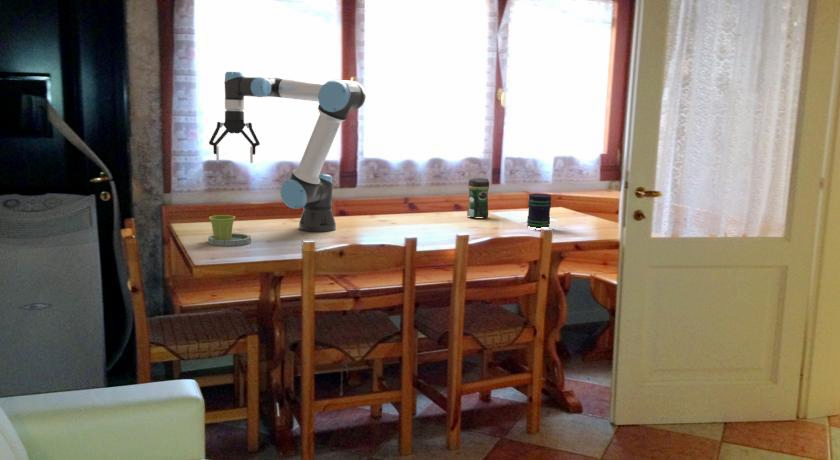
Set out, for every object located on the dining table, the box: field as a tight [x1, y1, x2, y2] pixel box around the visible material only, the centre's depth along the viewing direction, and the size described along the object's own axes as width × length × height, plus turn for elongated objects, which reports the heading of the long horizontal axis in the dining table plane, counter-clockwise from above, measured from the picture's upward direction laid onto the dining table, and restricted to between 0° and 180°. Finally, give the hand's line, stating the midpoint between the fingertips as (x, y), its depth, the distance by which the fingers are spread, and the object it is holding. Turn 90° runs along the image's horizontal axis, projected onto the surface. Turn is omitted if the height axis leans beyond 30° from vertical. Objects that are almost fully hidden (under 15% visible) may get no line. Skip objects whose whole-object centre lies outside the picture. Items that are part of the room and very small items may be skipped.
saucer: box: [207, 232, 252, 247], centre depth 304 cm, size 16×16×2 cm
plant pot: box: [208, 214, 236, 240], centre depth 302 cm, size 9×9×9 cm
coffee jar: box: [466, 177, 490, 218], centre depth 380 cm, size 10×8×19 cm
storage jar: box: [526, 193, 552, 228], centre depth 355 cm, size 10×10×15 cm
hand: (234, 162), depth 334 cm, fingers open, 13 cm apart
